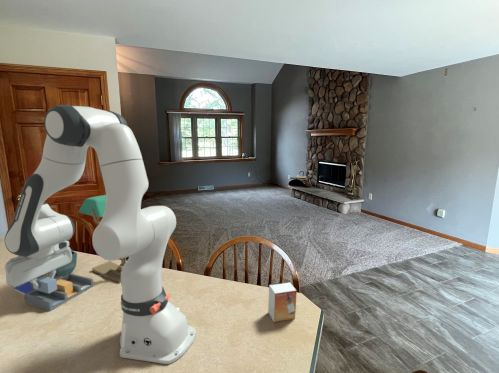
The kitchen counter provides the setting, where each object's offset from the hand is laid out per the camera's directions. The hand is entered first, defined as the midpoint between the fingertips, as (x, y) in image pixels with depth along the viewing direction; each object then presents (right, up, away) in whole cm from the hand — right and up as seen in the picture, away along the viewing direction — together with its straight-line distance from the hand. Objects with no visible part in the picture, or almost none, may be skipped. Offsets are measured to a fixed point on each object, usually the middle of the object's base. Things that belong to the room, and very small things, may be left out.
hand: (44, 284), depth 97 cm
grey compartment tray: (+2, -6, +6) cm, 9 cm away
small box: (+85, -9, -5) cm, 86 cm away
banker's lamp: (+13, -3, +23) cm, 27 cm away
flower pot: (-8, -3, +22) cm, 24 cm away
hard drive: (-11, -6, +10) cm, 16 cm away
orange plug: (+2, -5, +6) cm, 8 cm away
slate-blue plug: (0, -2, 0) cm, 2 cm away
